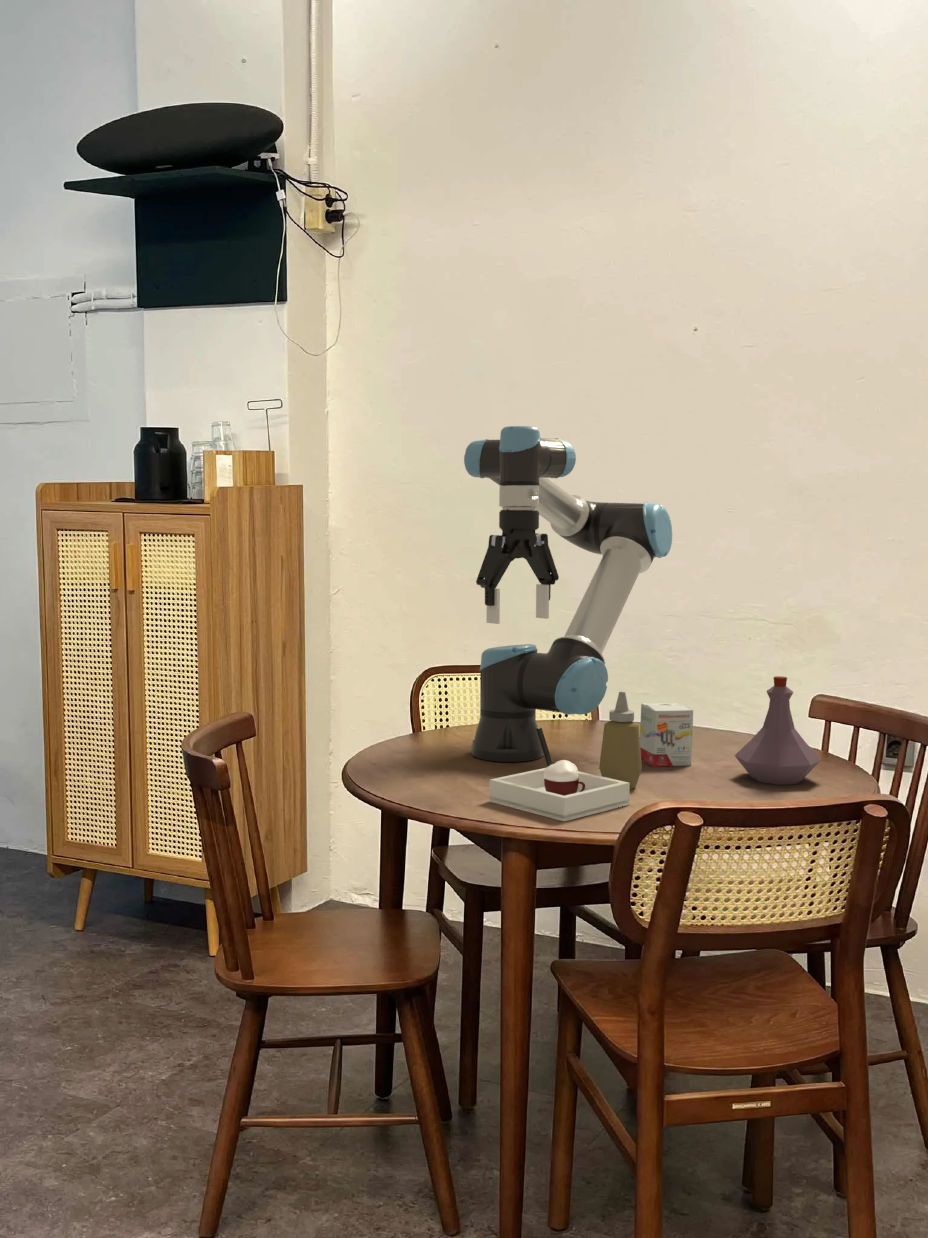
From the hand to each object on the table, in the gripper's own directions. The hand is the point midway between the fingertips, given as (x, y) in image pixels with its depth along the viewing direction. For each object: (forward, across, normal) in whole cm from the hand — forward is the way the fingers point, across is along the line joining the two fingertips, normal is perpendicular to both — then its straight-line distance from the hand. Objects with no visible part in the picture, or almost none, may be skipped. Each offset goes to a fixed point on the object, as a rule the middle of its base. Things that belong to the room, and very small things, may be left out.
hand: (518, 620), depth 238 cm
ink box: (+31, +34, -10) cm, 47 cm away
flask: (+31, +37, -34) cm, 59 cm away
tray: (+30, -9, -19) cm, 37 cm away
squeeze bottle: (+31, +9, -18) cm, 37 cm away
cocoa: (+30, -8, -19) cm, 36 cm away
